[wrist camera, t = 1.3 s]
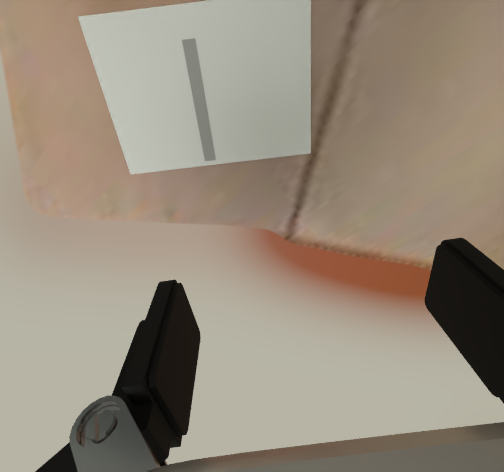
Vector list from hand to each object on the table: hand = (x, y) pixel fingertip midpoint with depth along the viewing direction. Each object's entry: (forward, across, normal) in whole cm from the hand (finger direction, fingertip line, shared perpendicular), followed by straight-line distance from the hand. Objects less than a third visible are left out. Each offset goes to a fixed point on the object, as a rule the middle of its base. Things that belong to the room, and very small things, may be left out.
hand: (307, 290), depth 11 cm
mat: (+24, +5, -5) cm, 25 cm away
